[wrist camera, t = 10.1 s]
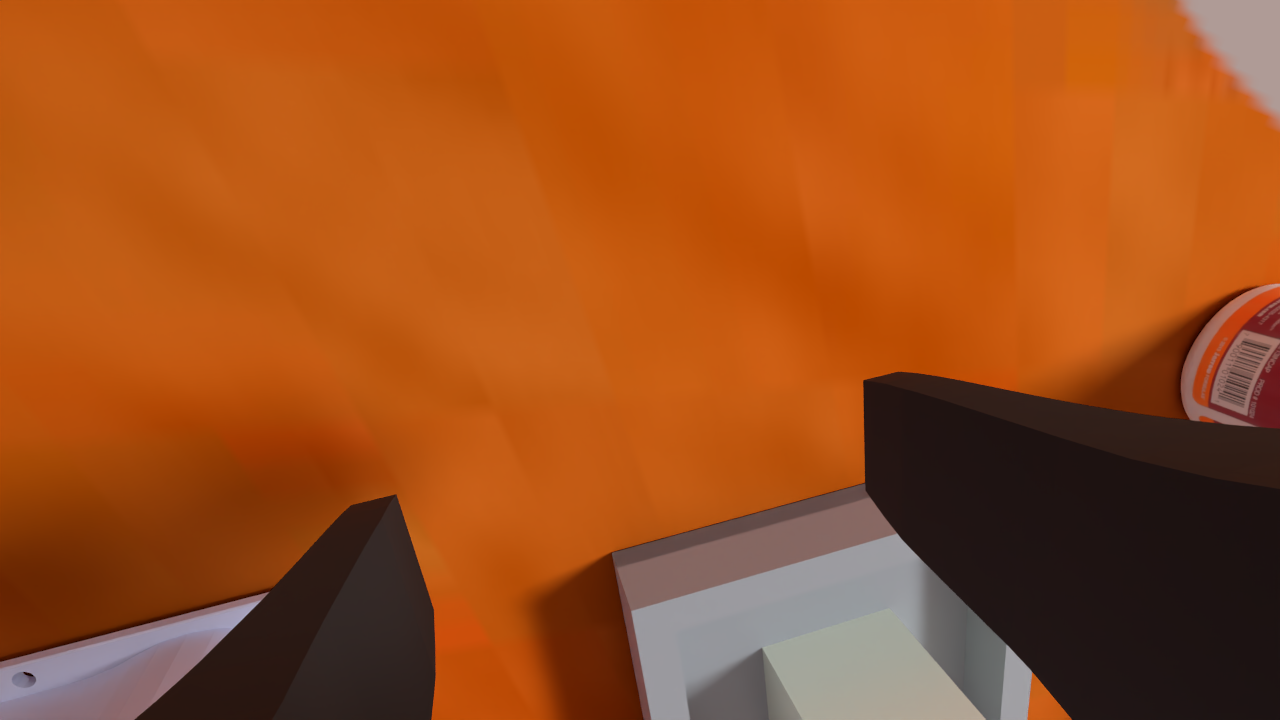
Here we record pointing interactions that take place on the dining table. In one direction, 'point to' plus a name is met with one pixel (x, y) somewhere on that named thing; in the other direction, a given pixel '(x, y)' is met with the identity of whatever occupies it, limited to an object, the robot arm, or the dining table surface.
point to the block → (860, 675)
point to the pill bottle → (1237, 363)
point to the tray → (791, 607)
